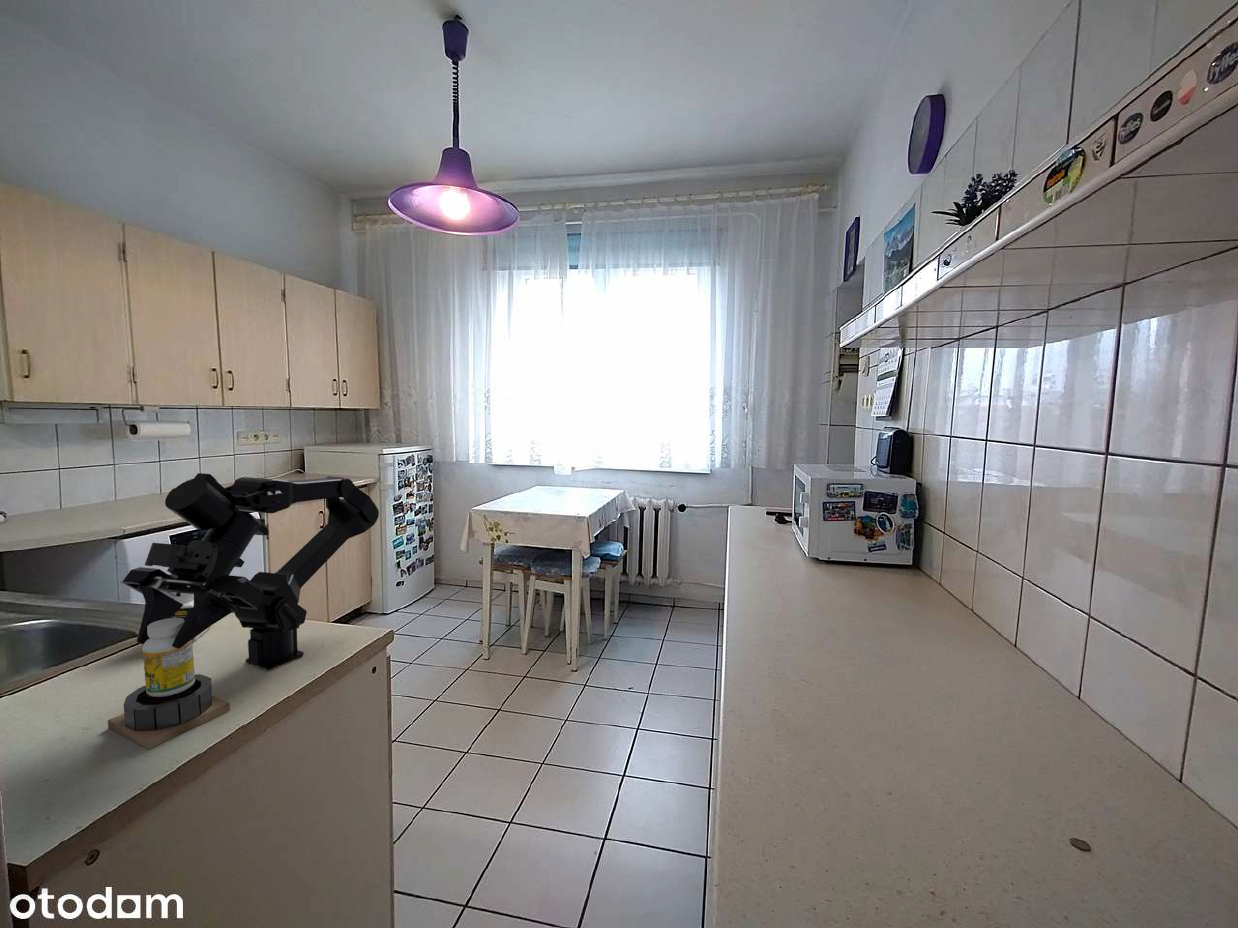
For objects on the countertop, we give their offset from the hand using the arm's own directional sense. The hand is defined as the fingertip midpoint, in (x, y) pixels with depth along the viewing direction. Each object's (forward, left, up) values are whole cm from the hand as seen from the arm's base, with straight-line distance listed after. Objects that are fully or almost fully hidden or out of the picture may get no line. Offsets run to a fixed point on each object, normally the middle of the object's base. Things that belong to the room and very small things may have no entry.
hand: (157, 645), depth 74 cm
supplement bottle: (-1, 0, -7) cm, 7 cm away
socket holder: (-1, 0, -11) cm, 12 cm away
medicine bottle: (-17, -29, -12) cm, 36 cm away
